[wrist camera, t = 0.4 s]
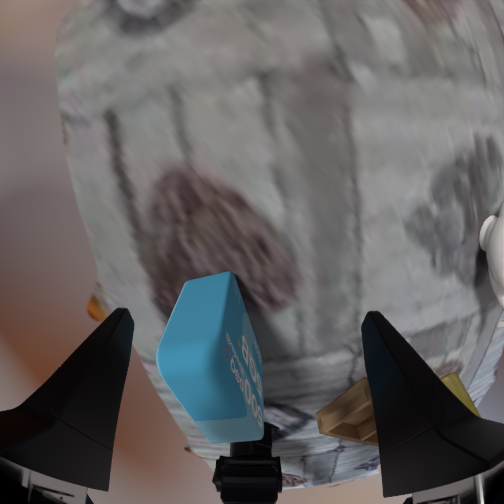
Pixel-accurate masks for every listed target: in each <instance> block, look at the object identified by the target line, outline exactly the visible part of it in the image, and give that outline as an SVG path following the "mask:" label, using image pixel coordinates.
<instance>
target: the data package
mask: <svg viewBox="0 0 504 504" xmlns="http://www.w3.org/2000/svg"><path fill="white" fill-rule="evenodd" d="M156 363H157V368H158V371H159V374H160V376H161V378H162V379H163V381H164V382H165V384H166V385H167V387H168V388H169V389H170V391H171V392H172V394H173V395H174V396H175V398H176V399H177V400H178V402H179V403H180V405H181V406H182V407H183V408H184V410H185V411H186V412H187V414H188V415H189V416H190V418H191V419H192V420H193V421H194V423H195V424H196V425H197V426H198V428H199V429H200V430H201V431H202V432H203V434H204V435H205V436H206V437H207V438H208V440H209V441H210V442H212V443H230V442H243V441H253V440H260V439H262V438H263V435H264V410H263V370H262V357H261V352H260V348H259V345H258V342H257V340H256V337H255V334H254V331H253V328H252V325H251V322H250V319H249V316H248V313H247V310H246V307H245V304H244V301H243V299H242V296H241V293H240V290H239V287H238V284H237V281H236V278H235V276H234V274H233V273H232V272H231V271H228V272H223V273H219V274H215V275H211V276H206V277H202V278H197V279H193V280H189V281H187V282H186V283H185V284H184V287H183V289H182V291H181V293H180V296H179V298H178V300H177V302H176V305H175V307H174V309H173V312H172V314H171V316H170V319H169V321H168V323H167V326H166V328H165V330H164V333H163V335H162V337H161V340H160V342H159V345H158V347H157V351H156Z"/></svg>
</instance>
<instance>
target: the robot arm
mask: <svg viewBox="0 0 504 504" xmlns="http://www.w3.org/2000/svg"><path fill="white" fill-rule="evenodd" d="M133 332H134V321H133V319H132V317H131V315H130V312H129V310H128V309H127V308H117V309H115V310H114V311H113V312H112V313H111V314H110V315H109V316H108V317H107V318H106V319H105V320H104V321H103V322H102V323H101V324H100V325H99V326H98V327H97V328H96V329H95V330H94V332H93V333H91V334H90V335H89V337H88V338H87V339H86V340H85V341H84V342H83V343H82V344H81V345H80V346H79V347H78V348H77V349H76V350H75V351H74V352H73V353H72V354H71V355H70V356H69V357H68V359H67V360H66V361H65V362H64V363H63V364H62V365H61V367H59V368H58V369H57V370H56V371H55V372H54V373H53V374H52V376H51V377H50V378H49V379H48V380H47V381H46V382H45V383H44V384H43V385H42V386H41V387H39V388H38V389H37V390H36V391H35V392H34V393H33V394H32V395H31V396H30V397H29V398H27V399H26V400H25V401H24V402H23V403H22V404H21V405H19V406H18V407H16V408H13V409H10V410H6V411H0V504H94V503H93V502H92V501H91V499H90V497H89V496H88V494H87V488H92V489H97V490H102V491H107V492H108V489H109V480H110V470H111V461H112V454H113V446H114V439H115V432H116V426H117V420H118V415H119V409H120V404H121V399H122V393H123V389H124V384H125V380H126V375H127V371H128V366H129V361H130V355H131V347H132V339H133ZM361 332H362V341H363V350H364V360H365V367H366V373H367V378H368V383H369V388H370V394H371V399H372V405H373V411H374V417H375V424H376V431H377V438H378V446H379V454H380V464H381V474H382V485H383V496H384V498H385V497H392V496H399V495H405V494H410V493H412V497H409V498H407V499H406V500H405V502H404V503H403V504H504V424H502V423H499V422H495V421H491V420H487V419H483V418H481V417H479V416H477V415H475V414H474V413H473V412H472V411H471V410H470V409H469V408H468V407H467V406H466V405H465V404H464V403H463V402H462V401H461V400H460V399H458V398H457V397H456V396H455V395H454V394H453V393H452V392H451V390H450V389H449V388H448V387H447V386H446V385H445V384H444V383H443V382H442V381H441V380H440V378H439V377H438V376H437V375H436V374H435V373H434V372H433V370H432V369H431V368H430V367H429V366H428V365H427V363H426V362H425V361H424V360H423V359H422V358H421V357H420V356H419V354H418V353H417V352H416V351H415V350H414V349H413V348H412V347H411V345H410V344H409V343H408V342H407V341H406V340H405V339H404V338H403V337H402V336H401V334H400V333H399V332H398V331H397V330H396V329H395V328H394V327H393V326H392V325H391V324H390V323H389V321H388V320H387V319H386V318H385V317H384V316H383V315H382V314H381V313H380V312H379V311H369V312H368V313H367V314H366V317H365V319H364V321H363V323H362V326H361ZM277 431H278V427H275V426H272V425H269V424H266V423H264V435H263V438H262V439H260V440H253V441H243V442H231V445H230V457H226V456H220V459H218V460H216V468H215V472H214V476H213V480H212V482H213V483H214V484H215V485H216V488H217V492H221V496H220V497H221V500H222V503H223V504H276V502H277V499H278V493H281V492H282V471H281V463H280V456H277V457H272V452H271V449H272V434H274V433H276V432H277Z"/></svg>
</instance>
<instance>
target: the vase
mask: <svg viewBox="0 0 504 504" xmlns="http://www.w3.org/2000/svg"><path fill="white" fill-rule="evenodd" d="M441 381H442V382H443V383H444V384H445V385H446V386H447V387H448V388H449V389H450V390H451V392H452V393H453V394H454V395H455V396H456V397H457V398H458V399H460V400H461V401H462V402H463V403H464V404H465V405H466V406H467V407H468V408H469V409H470V410H471V411H472V412H473V413H474V414H475V415H477V416H479V417H481V416H480V415H479V413H478V411H477V409H476V407H475V405H474V403H473V401H472V399H471V397H470V396H469V394H468V392H467V390H466V389H465V387H464V385H463V383H462V381H461V380H460V378H459V375H458V374H457V373H451V374H449V375H447V376H445V377H443V378H442V379H441Z"/></svg>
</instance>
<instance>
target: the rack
mask: <svg viewBox="0 0 504 504" xmlns="http://www.w3.org/2000/svg"><path fill="white" fill-rule="evenodd" d="M316 416H317V422H318V427H319V433H320V434H324V435H327V436H332V437H336V438H340V439H344V440H349V441H354V442H358V443H364V444H369V445H375V446H378V438H377V431H376V424H375V417H374V411H373V405H372V399H371V394H370V388H369V383H368V378H365V377H364V378H363V379H362V380H360V381H359V382H358V383H357V384H355V385H354V386H353V387H352V388H350V389H349V390H348V391H346V392H345V393H344V394H342V395H341V396H340V397H338V398H337V399H336V400H334V401H333V402H332V403H330V404H329V405H327V406H326V407H325V408H323V409H322V410H320V411H319V412H317V413H316Z"/></svg>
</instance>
